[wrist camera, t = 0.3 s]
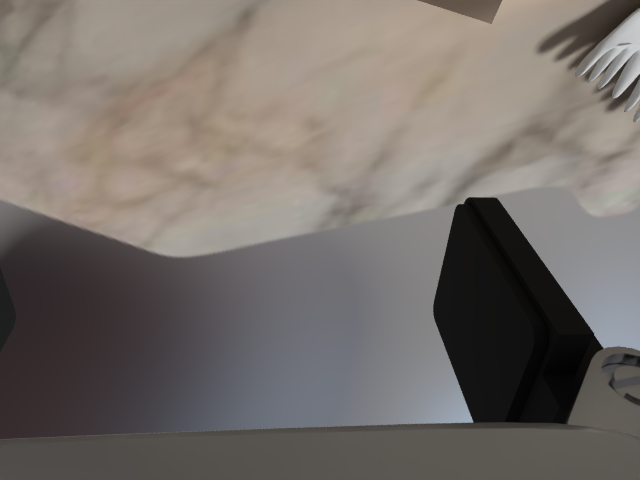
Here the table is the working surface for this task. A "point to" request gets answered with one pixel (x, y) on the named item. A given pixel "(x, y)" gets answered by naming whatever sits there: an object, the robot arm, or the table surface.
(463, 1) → the switch board
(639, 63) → the spoon
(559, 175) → the table surface
